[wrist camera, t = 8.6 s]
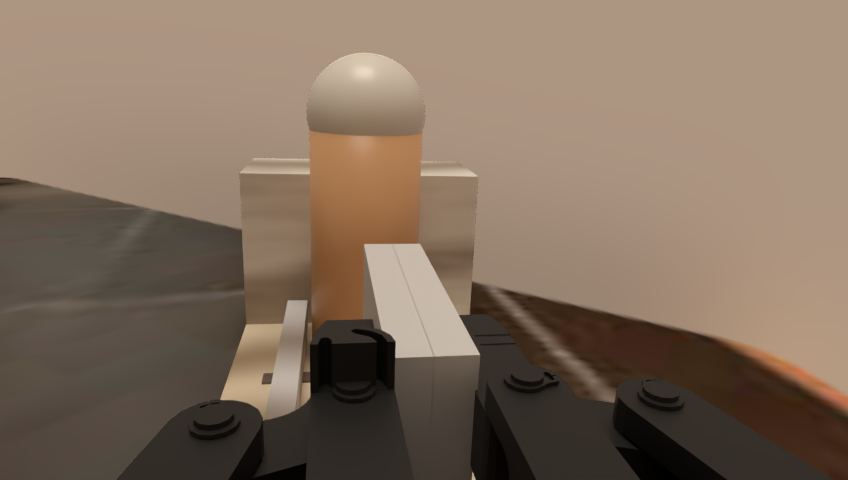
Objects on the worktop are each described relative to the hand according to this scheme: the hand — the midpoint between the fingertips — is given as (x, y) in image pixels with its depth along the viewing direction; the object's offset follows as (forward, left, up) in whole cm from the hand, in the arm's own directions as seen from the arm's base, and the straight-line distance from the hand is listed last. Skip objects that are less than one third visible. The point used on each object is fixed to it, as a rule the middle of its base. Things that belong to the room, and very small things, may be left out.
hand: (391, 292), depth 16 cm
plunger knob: (-10, +6, -7) cm, 14 cm away
